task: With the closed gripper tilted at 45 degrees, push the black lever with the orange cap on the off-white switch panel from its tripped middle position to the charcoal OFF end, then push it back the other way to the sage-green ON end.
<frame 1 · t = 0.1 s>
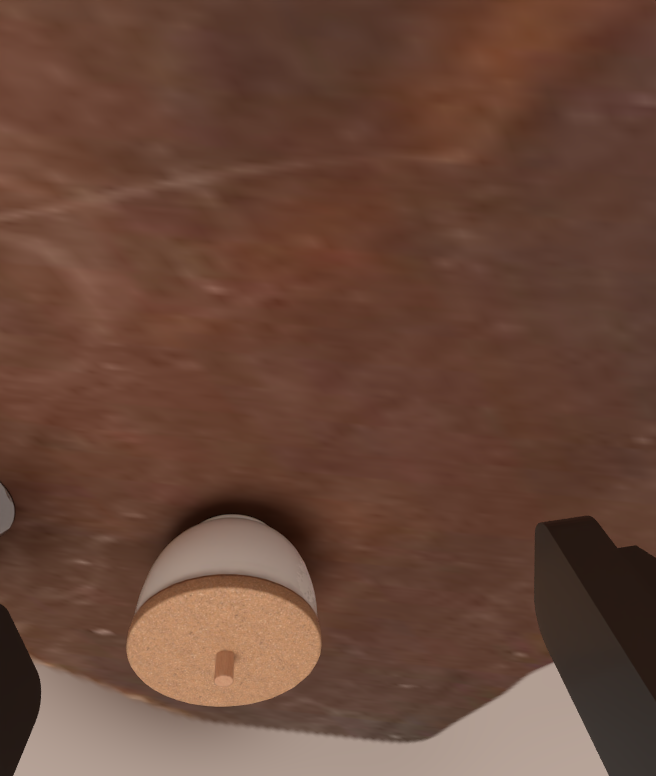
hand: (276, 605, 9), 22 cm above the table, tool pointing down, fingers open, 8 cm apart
lidded jar: (232, 545, 40), on the table
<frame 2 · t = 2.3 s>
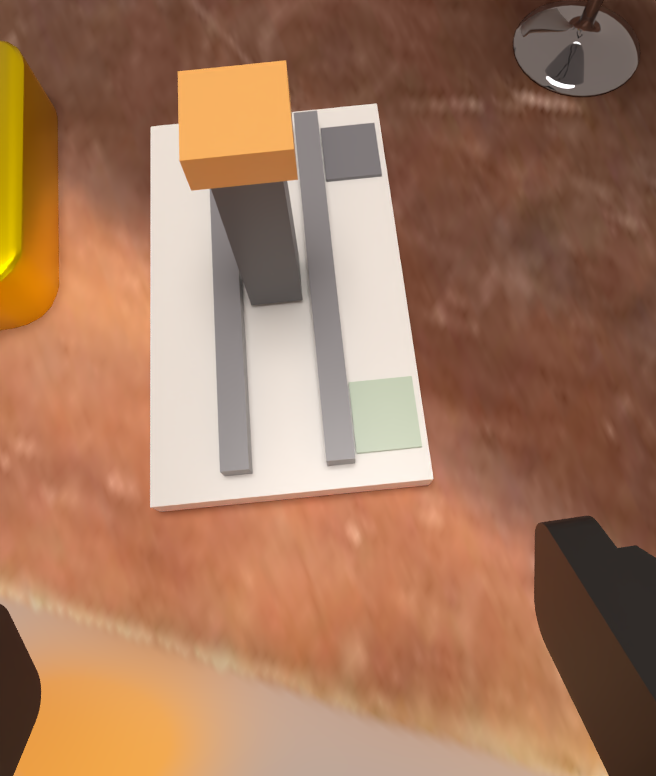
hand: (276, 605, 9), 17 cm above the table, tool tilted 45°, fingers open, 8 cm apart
wine glass: (574, 50, 35), on the table
switch panel: (279, 297, 30), on the table
lever: (259, 212, 23), point 7 cm above the table, slide at 0.0 cm
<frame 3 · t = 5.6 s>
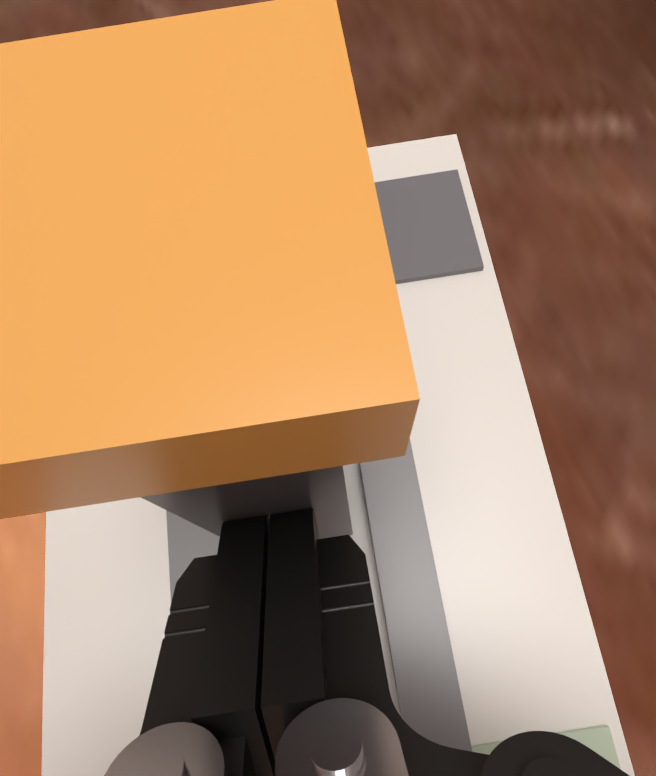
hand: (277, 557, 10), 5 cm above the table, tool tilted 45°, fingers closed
switch panel: (302, 514, 16), on the table
lever: (255, 425, 9), point 7 cm above the table, slide at 0.3 cm, touching gripper
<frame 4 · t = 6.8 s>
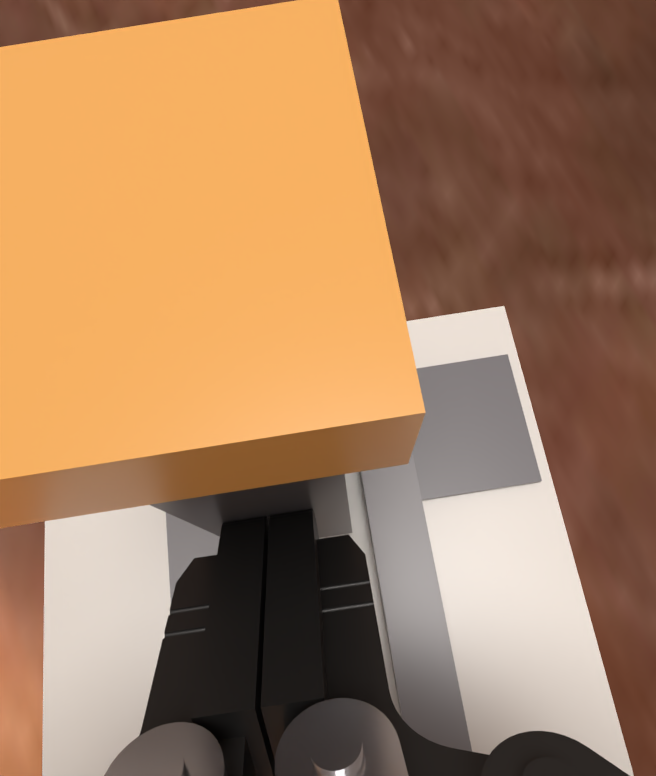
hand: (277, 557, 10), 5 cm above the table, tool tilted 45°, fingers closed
switch panel: (335, 767, 14), on the table
lever: (255, 426, 9), point 7 cm above the table, slide at 6.1 cm, touching gripper
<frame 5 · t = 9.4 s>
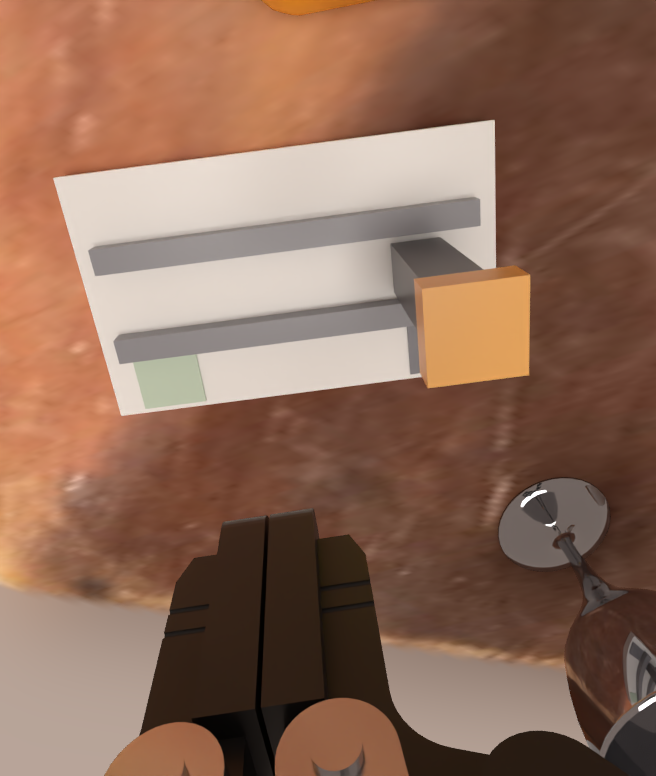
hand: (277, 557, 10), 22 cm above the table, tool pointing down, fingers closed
wine glass: (552, 524, 38), on the table
switch panel: (292, 273, 31), on the table
lever: (440, 292, 24), point 7 cm above the table, slide at 6.1 cm
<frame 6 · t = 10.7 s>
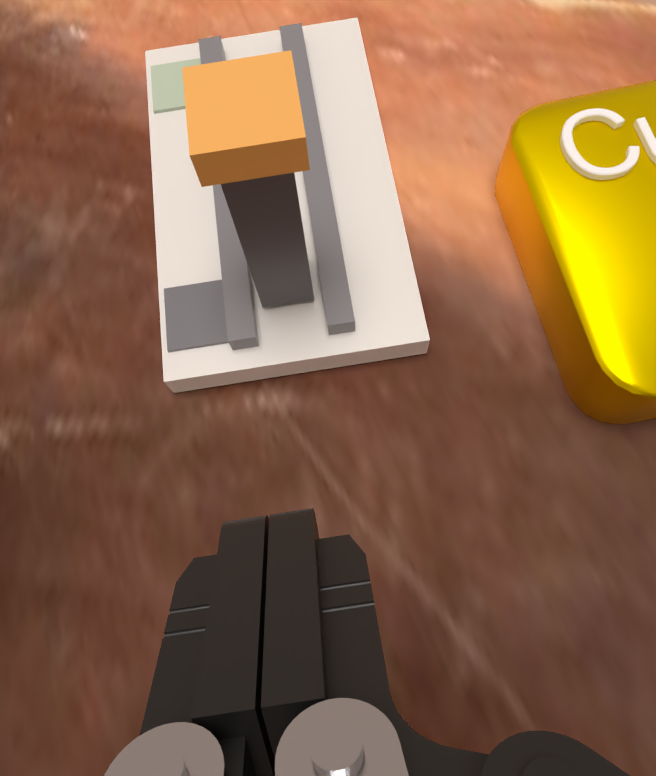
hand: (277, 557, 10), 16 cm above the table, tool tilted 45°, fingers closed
switch panel: (275, 198, 32), on the table
lever: (268, 210, 23), point 7 cm above the table, slide at 6.1 cm
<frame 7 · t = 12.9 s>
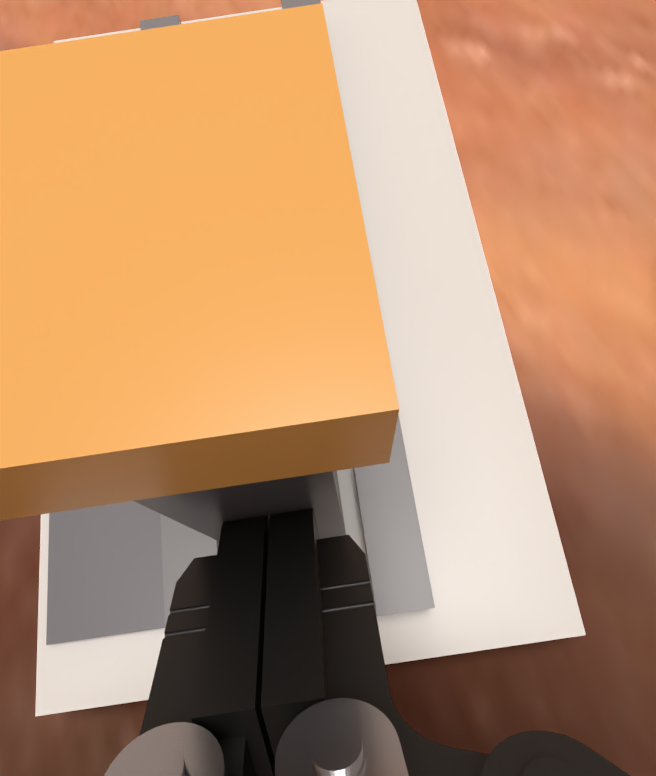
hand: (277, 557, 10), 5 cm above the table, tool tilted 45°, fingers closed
switch panel: (271, 301, 18), on the table
lever: (247, 428, 9), point 7 cm above the table, slide at 6.0 cm, touching gripper
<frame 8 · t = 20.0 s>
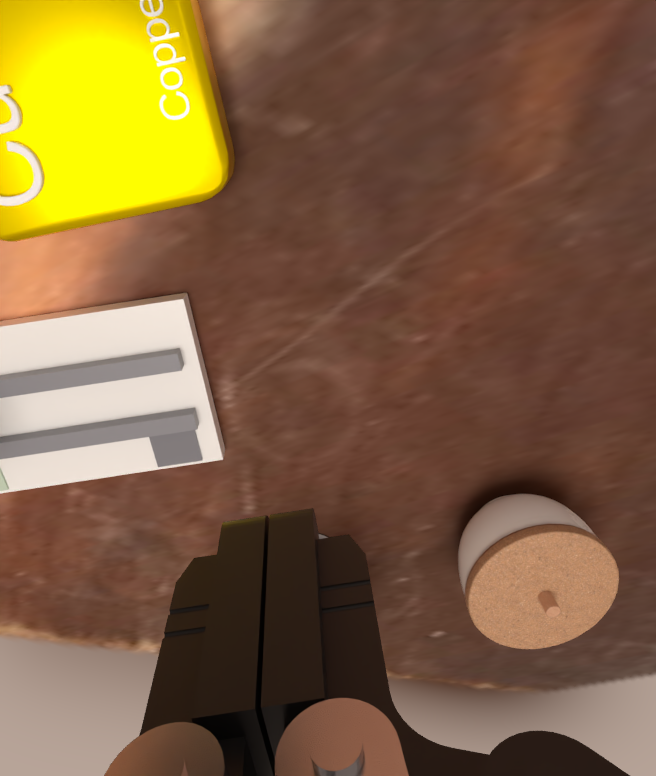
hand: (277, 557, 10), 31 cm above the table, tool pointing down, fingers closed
switch panel: (65, 396, 42), on the table
element tile: (84, 79, 35), on the table
lidded jar: (506, 524, 49), on the table
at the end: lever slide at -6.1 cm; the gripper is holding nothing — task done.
